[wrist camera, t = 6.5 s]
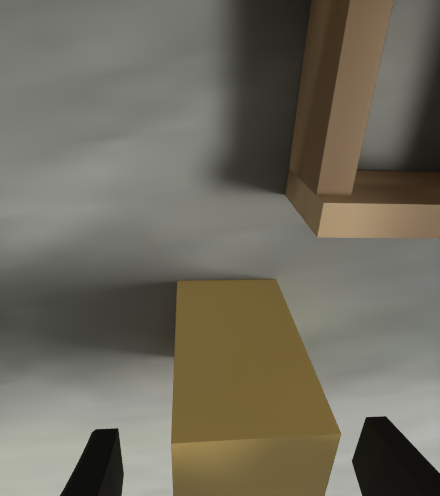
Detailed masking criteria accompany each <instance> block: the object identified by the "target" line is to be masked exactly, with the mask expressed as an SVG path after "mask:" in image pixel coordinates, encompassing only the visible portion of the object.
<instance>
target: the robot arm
mask: <svg viewBox="0 0 440 496" xmlns="http://www.w3.org/2000/svg"><path fill="white" fill-rule="evenodd" d="M352 463H353V466H354V470H355V473H356V477H357V480H358V483H359V486H360V490H361V493H362V496H440V473H439V472H438V471H437V470H436V469H435V468H434V467H433V466H432V465H431V464H430V463H429V462H428V461H427V460H426V459H425V458H424V456H423V455H422V454H421V453H420V452H419V451H418V450H417V449H416V448H415V447H414V446H413V445H412V444H411V443H410V442H409V441H408V439H407V438H406V437H405V436H404V435H403V434H402V433H401V432H400V431H399V430H398V429H397V428H396V427H395V426H394V425H393V424H392V422H391V421H390V420H389V419H388V418H387V417H386V416H384V417H366V419H365V422H364V425H363V428H362V432H361V435H360V438H359V441H358V444H357V447H356V450H355V453H354V456H353V459H352ZM123 476H124V473H123V464H122V456H121V448H120V439H119V431H118V428H117V429H96V430H95V431H93V432H92V434H91V436H90V438H89V440H88V443H87V445H86V447H85V449H84V451H83V453H82V455H81V457H80V459H79V461H78V463H77V465H76V467H75V469H74V471H73V473H72V475H71V477H70V479H69V481H68V482H67V484H66V486H65V488H64V490H63V491H62V493H61V495H60V496H121V495H122V485H123Z"/></svg>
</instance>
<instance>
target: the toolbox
mask: <svg viewBox="0 0 440 496" xmlns="http://www.w3.org/2000/svg"><path fill="white" fill-rule="evenodd" d="M392 5H393V0H311V6H310V14H309V21H308V29H307V36H306V44H305V51H304V59H303V66H302V74H301V81H300V89H299V96H298V104H297V111H296V119H295V126H294V134H293V141H292V149H291V156H290V164H289V172H288V179H287V187H286V194H285V196H286V197H287V198H288V200H289V201H290V202H291V204H292V205H293V206H294V207H295V209H296V210H297V211H298V213H299V214H300V215H301V217H302V218H303V219H304V221H305V222H306V223H307V224H308V226H309V227H310V228H311V230H312V231H313V232H314V234H315V235H316V236H317V237H332V238H440V172H420V171H382V170H357V166H358V162H359V157H360V152H361V148H362V143H363V139H364V134H365V129H366V125H367V120H368V116H369V111H370V106H371V102H372V97H373V92H374V88H375V83H376V79H377V74H378V69H379V65H380V60H381V56H382V51H383V46H384V42H385V37H386V33H387V28H388V23H389V19H390V14H391V9H392Z"/></svg>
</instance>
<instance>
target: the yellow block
mask: <svg viewBox="0 0 440 496" xmlns="http://www.w3.org/2000/svg"><path fill="white" fill-rule="evenodd" d="M340 437H341V432H340V430H339V427H338V425H337V423H336V420H335V418H334V416H333V413H332V411H331V408H330V406H329V404H328V401H327V399H326V397H325V394H324V392H323V389H322V387H321V385H320V382H319V380H318V378H317V375H316V373H315V370H314V368H313V366H312V363H311V361H310V359H309V356H308V354H307V351H306V349H305V347H304V344H303V342H302V340H301V337H300V335H299V332H298V330H297V328H296V325H295V323H294V321H293V318H292V316H291V313H290V311H289V309H288V306H287V304H286V302H285V299H284V297H283V294H282V292H281V290H280V287H279V285H278V283H277V280H276V279H255V280H199V281H177V301H176V328H175V354H174V381H173V407H172V434H171V452H172V475H173V496H325V492H326V488H327V485H328V481H329V477H330V474H331V470H332V466H333V463H334V459H335V455H336V451H337V448H338V444H339V440H340Z"/></svg>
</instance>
